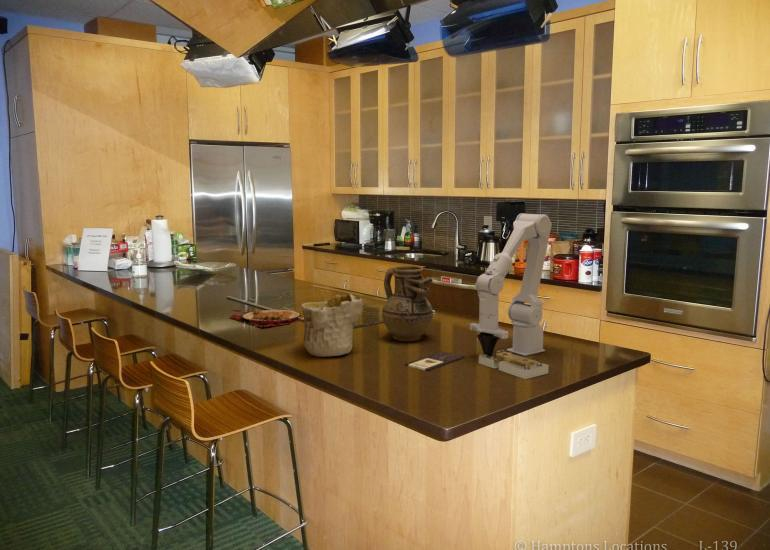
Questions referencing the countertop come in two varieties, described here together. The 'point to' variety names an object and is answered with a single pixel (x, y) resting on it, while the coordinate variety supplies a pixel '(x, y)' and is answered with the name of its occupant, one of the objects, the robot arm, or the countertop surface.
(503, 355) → the riveted link plate
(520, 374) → the chain end
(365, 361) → the countertop surface
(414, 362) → the chocolate bar
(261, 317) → the plate with food
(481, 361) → the chain end
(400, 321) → the decorative pitcher
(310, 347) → the ceramic vessel
